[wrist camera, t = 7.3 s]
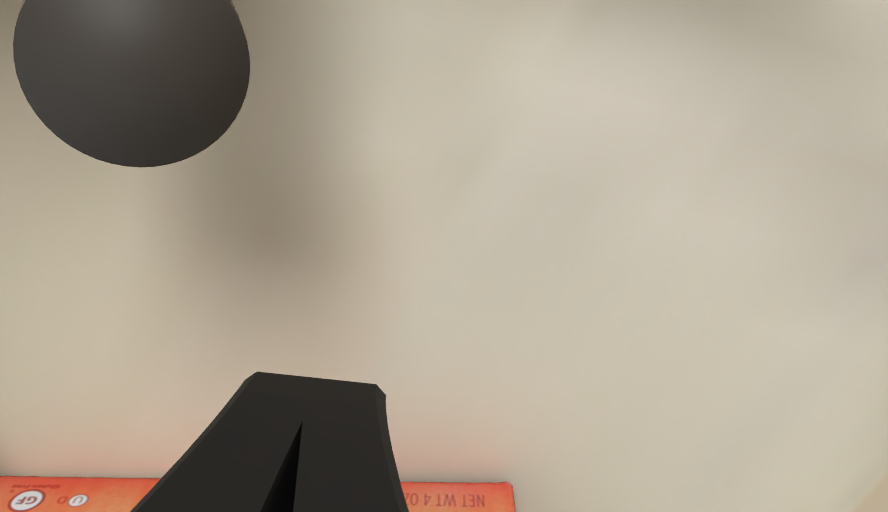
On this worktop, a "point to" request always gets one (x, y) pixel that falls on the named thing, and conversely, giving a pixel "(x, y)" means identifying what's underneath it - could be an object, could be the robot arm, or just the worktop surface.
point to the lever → (133, 74)
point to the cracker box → (111, 499)
